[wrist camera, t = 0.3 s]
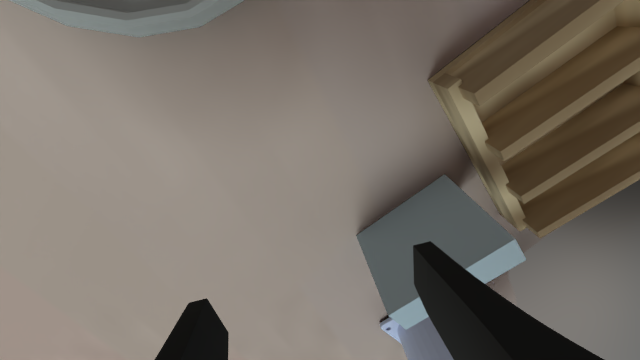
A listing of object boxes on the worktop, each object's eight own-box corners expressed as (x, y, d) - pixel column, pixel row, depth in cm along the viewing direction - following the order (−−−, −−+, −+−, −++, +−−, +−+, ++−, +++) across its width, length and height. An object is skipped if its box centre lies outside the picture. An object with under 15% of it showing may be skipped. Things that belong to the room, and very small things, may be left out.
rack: (632, 130, 22) (693, 150, 18) (500, 214, 24) (534, 244, 21) (610, -63, 15) (700, -83, 12) (427, 80, 17) (463, 95, 14)
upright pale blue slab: (455, 192, 22) (526, 259, 16) (370, 249, 24) (406, 329, 18) (444, 173, 21) (515, 238, 15) (356, 235, 23) (388, 315, 17)
